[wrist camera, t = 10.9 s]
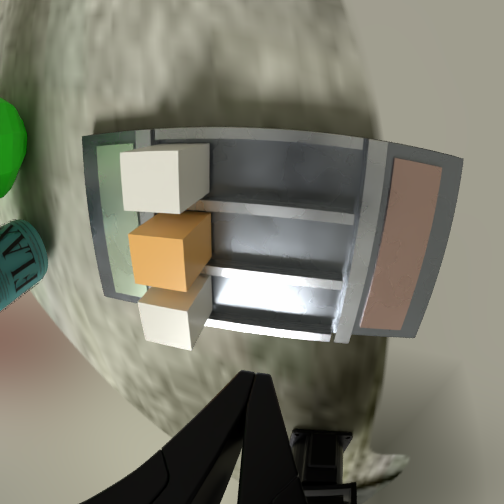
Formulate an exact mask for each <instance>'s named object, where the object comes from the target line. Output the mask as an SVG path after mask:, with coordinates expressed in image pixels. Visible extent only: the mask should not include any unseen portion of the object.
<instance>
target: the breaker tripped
mask: <svg viewBox="0 0 504 504" xmlns="http://www.w3.org/2000/svg"><path fill="white" fill-rule="evenodd" d="M128 239H129V247H130V254H131V261H132V267H133V273H134V279H135V284H141V285H146V286H152V287H158V288H164V289H170V290H176V291H182V292H187V291H188V290H189V288H190V287H191V285H192V284H193V282H194V281H195V280H196V278H197V277H198V275H199V274H200V272H201V271H202V270H203V268H204V267H205V265H206V264H207V263H208V261H209V260H210V258H211V257H212V247H211V213H210V212H197V211H183V212H182V213H181V214H171V213H158V214H157V215H155V216H154V217H152V218H151V219H149V220H148V221H146V222H145V223H143V224H142V225H140V226H139V227H137V228H136V229H134V230H133V231H132V232H130V233H129V234H128Z"/></svg>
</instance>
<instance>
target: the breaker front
mask: <svg viewBox="0 0 504 504" xmlns="http://www.w3.org/2000/svg"><path fill="white" fill-rule="evenodd" d="M209 161H210V143H170V144H157V145H152V146H147V147H143V148H138V149H133V150H129V151H125V152H120V166H121V182H122V194H123V205H124V211H140V212H156V213H171V214H181V213H182V212H183V211H185V210H186V209H187V208H189V207H190V206H191V205H193V204H194V203H196V202H197V201H198V200H200V199H201V198H202V197H204V196H205V195H206V194H208V193H209Z"/></svg>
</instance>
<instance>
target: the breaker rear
mask: <svg viewBox="0 0 504 504" xmlns="http://www.w3.org/2000/svg"><path fill="white" fill-rule="evenodd" d="M138 307H139V312H140V317H141V321H142V326H143V331H144V335H145V339H146V340H147V341H151V342H155V343H159V344H164V345H168V346H172V347H177V348H182V349H186V350H191V351H192V349H193V347H194V345H195V343H196V341H197V339H198V337H199V335H200V333H201V331H202V329H203V327H204V326H205V324H206V322H207V320H208V318H209V316H210V314H211V312H212V310H213V309H212V285H211V275H206V274H199V275H198V277H197V278H196V280H195V281H194V282H193V284H192V285H191V287H190V288H189V290H188V291H187V292H182V291H176V290H170V289H164V288H158V287H152V286H151V287H150V288H149V290H148V291H147V292H146V293H145V294H144V295H143V296H142V298H141V299H140V300H139V301H138Z"/></svg>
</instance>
